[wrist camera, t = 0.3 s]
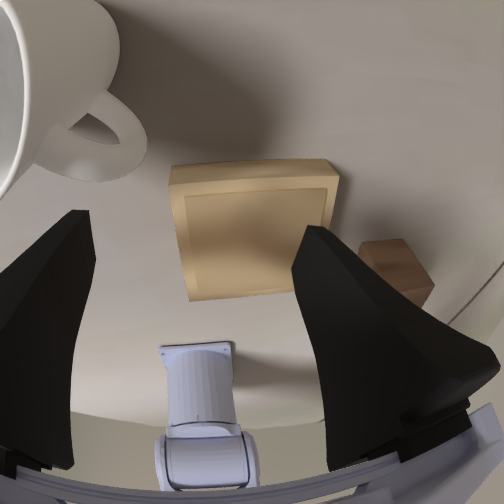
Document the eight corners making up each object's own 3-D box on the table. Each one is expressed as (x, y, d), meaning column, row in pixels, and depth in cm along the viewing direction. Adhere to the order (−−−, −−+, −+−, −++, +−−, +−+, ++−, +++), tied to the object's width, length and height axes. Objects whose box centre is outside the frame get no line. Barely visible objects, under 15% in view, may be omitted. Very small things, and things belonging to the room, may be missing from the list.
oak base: (307, 267, 26) (316, 290, 24) (189, 278, 25) (189, 303, 23) (325, 158, 19) (340, 177, 17) (171, 166, 18) (168, 186, 16)
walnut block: (388, 272, 28) (414, 318, 24) (349, 278, 28) (374, 328, 23) (402, 238, 25) (435, 285, 21) (361, 242, 25) (392, 293, 20)
